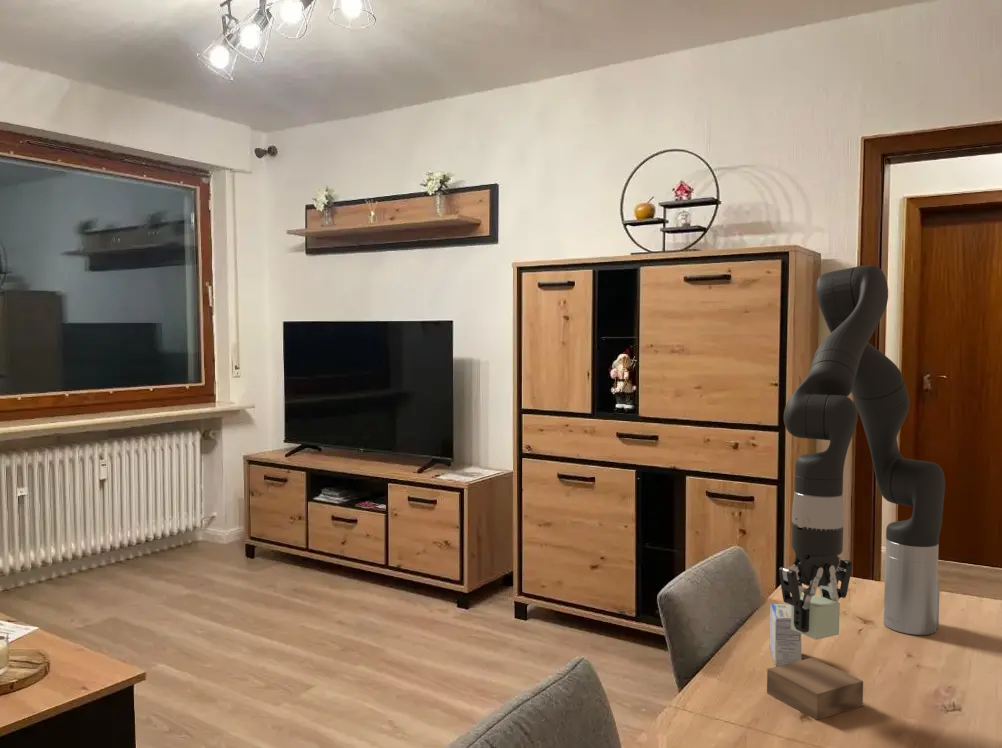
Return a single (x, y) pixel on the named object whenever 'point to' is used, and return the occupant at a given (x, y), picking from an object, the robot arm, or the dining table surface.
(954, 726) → the dining table surface
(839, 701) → the walnut block
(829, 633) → the sage green cube
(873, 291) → the robot arm
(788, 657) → the medicine box
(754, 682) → the dining table surface
